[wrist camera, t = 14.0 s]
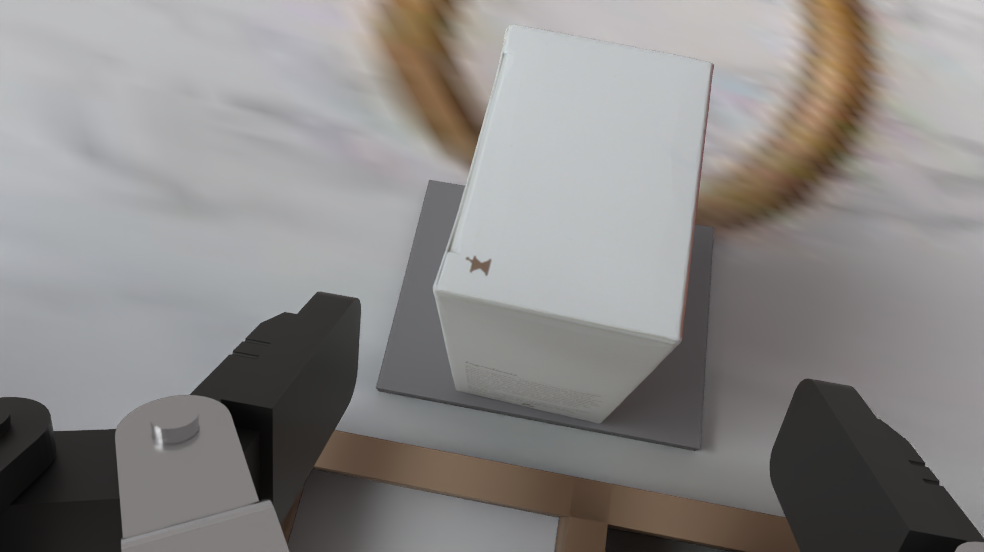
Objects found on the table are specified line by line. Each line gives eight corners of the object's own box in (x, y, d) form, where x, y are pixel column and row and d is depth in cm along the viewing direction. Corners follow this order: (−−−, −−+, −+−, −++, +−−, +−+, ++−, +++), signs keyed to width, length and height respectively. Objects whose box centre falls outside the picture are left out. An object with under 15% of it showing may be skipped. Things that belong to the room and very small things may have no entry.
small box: (600, 427, 23) (685, 354, 13) (451, 392, 23) (426, 295, 14) (633, 233, 26) (722, 55, 16) (500, 205, 26) (508, 15, 16)
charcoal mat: (378, 390, 24) (376, 387, 23) (430, 186, 27) (429, 179, 27) (695, 450, 23) (700, 448, 23) (708, 233, 26) (713, 227, 26)
